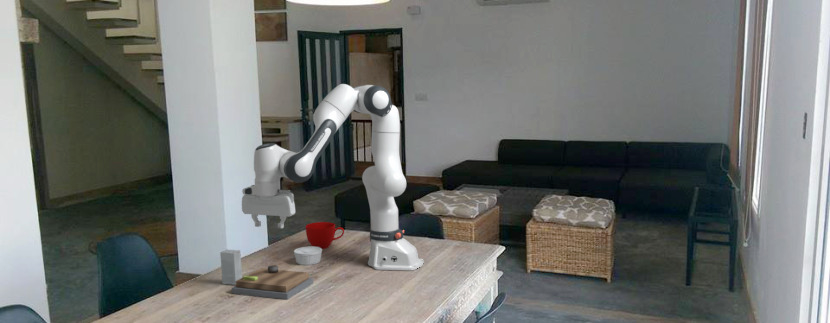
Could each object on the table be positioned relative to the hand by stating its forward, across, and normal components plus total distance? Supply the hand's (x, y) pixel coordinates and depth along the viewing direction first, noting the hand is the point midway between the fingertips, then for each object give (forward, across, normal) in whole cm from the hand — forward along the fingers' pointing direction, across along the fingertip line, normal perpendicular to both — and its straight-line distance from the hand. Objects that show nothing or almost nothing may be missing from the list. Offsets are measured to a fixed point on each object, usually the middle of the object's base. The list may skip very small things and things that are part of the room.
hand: (269, 227), depth 225 cm
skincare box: (+21, +15, +3) cm, 26 cm away
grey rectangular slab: (+21, -3, +4) cm, 22 cm away
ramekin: (+22, +1, -29) cm, 36 cm away
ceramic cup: (+21, +5, -52) cm, 56 cm away
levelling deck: (+19, -3, +4) cm, 20 cm away
